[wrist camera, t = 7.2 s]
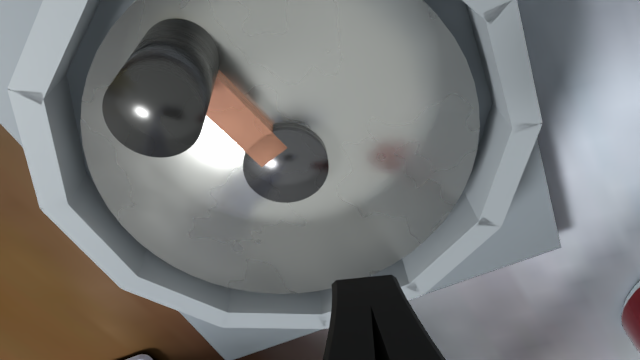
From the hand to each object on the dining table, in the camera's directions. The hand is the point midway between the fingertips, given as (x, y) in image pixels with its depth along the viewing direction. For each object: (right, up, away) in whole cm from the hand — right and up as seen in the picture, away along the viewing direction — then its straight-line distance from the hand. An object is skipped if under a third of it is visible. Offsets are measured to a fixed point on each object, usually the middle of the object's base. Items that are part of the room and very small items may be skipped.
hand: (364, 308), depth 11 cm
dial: (-2, +4, +8) cm, 9 cm away
